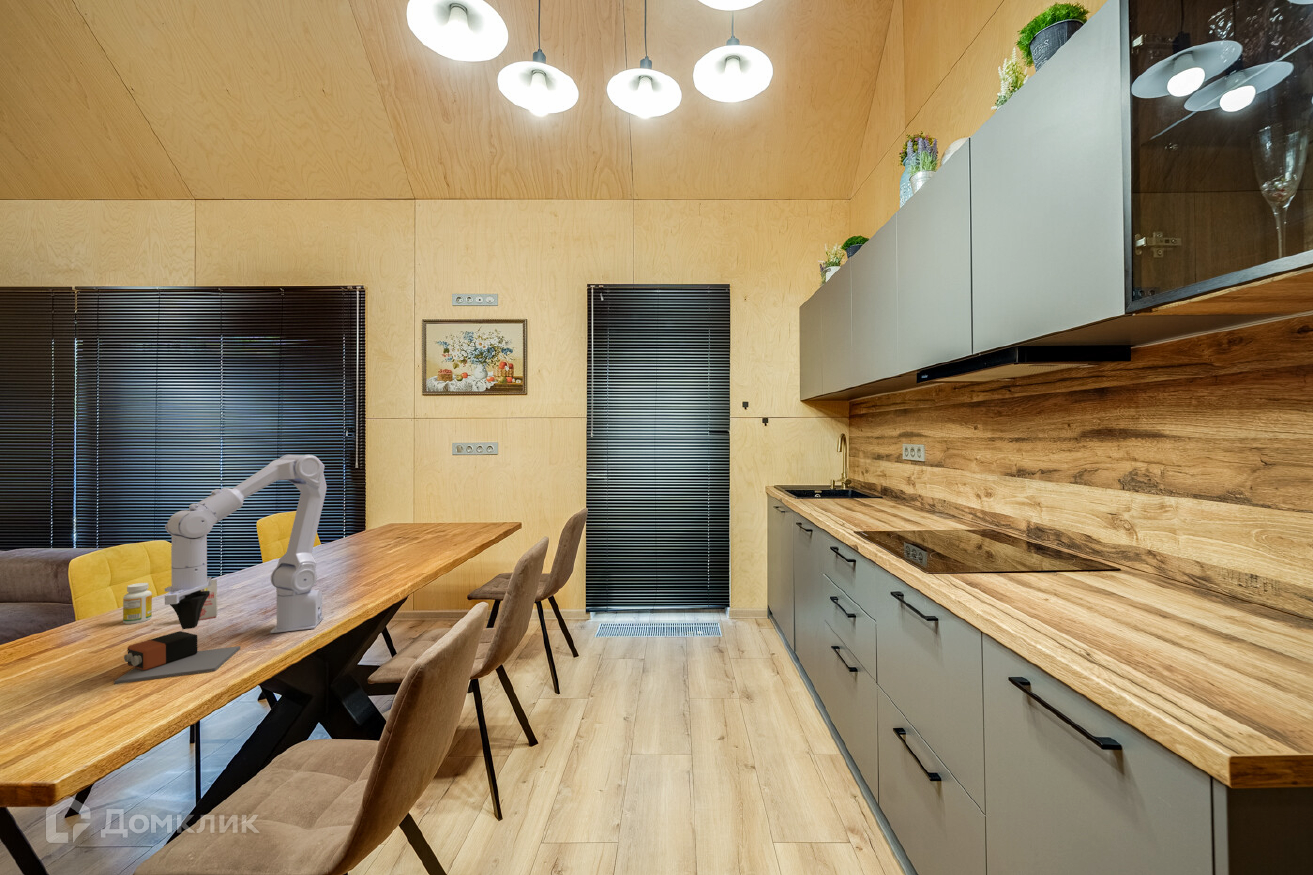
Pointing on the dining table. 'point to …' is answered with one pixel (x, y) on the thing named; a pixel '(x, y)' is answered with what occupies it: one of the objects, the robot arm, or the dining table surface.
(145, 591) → the supplement bottle
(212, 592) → the white carton box
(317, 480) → the robot arm
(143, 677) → the mat
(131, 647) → the battery
